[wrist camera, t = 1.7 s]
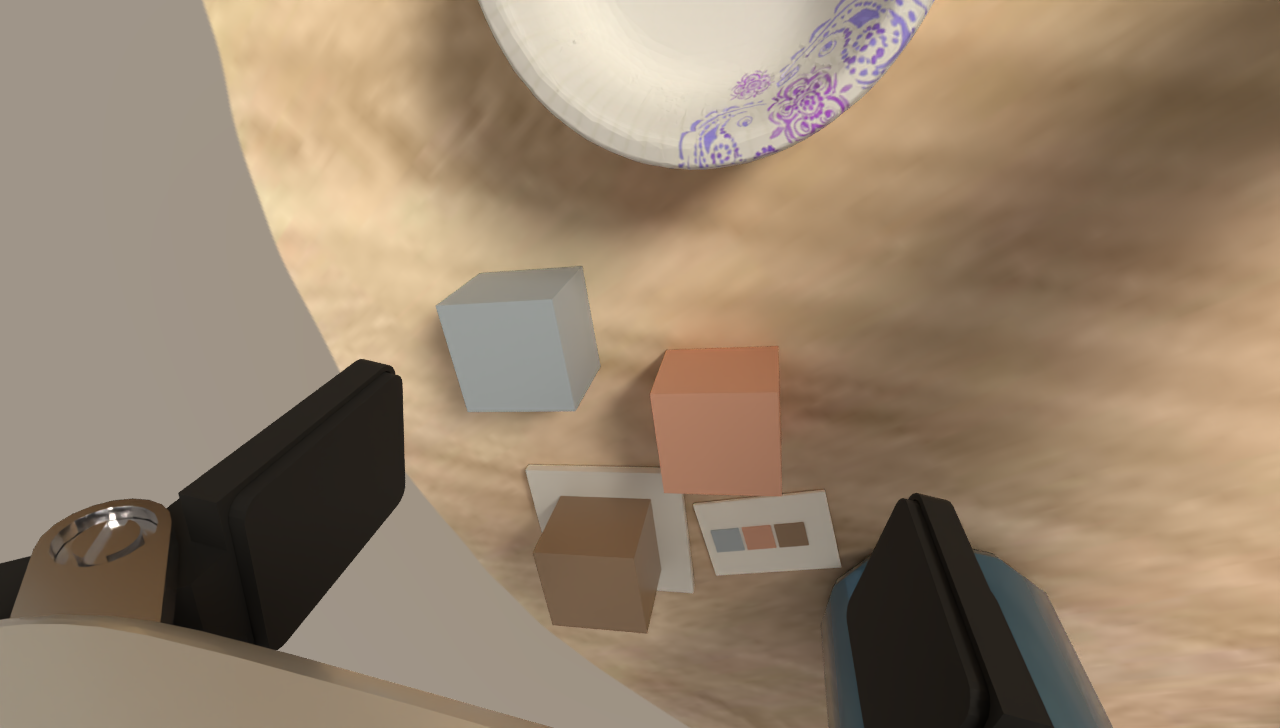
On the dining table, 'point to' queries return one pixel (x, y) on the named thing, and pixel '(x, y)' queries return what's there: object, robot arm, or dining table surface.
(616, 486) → the tower base
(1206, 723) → the dining table surface
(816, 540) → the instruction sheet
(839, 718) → the wine bottle
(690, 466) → the terracotta brick
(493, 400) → the slate brick
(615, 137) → the paper bowls
